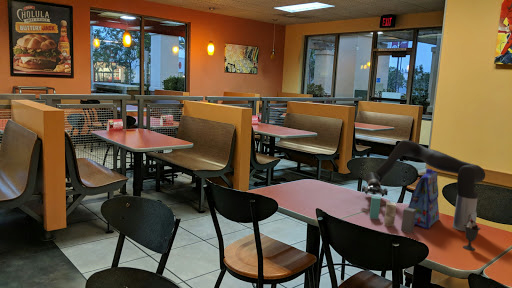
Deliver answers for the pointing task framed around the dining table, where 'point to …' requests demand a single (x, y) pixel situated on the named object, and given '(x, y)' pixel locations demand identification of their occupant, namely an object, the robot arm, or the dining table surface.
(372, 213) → the teal block
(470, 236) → the sundae
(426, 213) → the lunch bag
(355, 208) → the dining table surface
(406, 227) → the charcoal block
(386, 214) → the tan block
